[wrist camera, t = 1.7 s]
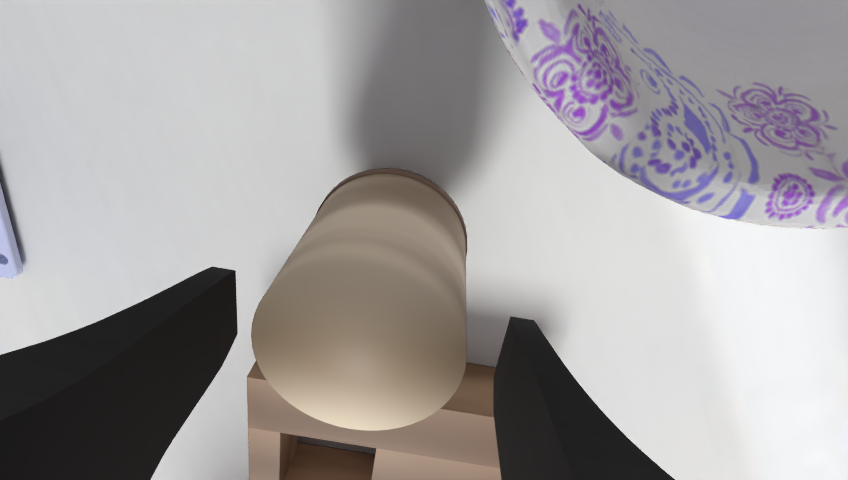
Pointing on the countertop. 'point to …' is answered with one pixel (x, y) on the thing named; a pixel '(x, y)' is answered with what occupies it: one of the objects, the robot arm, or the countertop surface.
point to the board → (376, 439)
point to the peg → (370, 305)
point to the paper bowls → (700, 97)
